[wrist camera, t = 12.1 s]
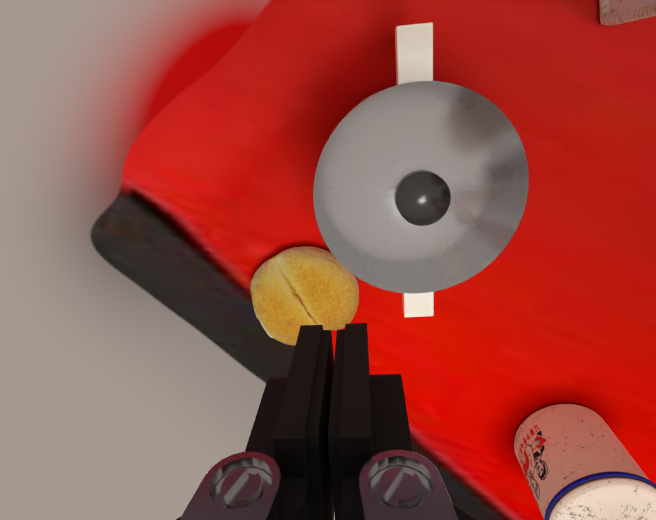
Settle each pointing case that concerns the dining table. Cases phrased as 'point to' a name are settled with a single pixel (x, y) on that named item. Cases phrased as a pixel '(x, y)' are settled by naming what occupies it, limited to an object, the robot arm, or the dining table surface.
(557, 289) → the dining table surface
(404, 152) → the lid
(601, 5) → the decorative jar
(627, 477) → the teacup with lid
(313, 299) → the bread roll
